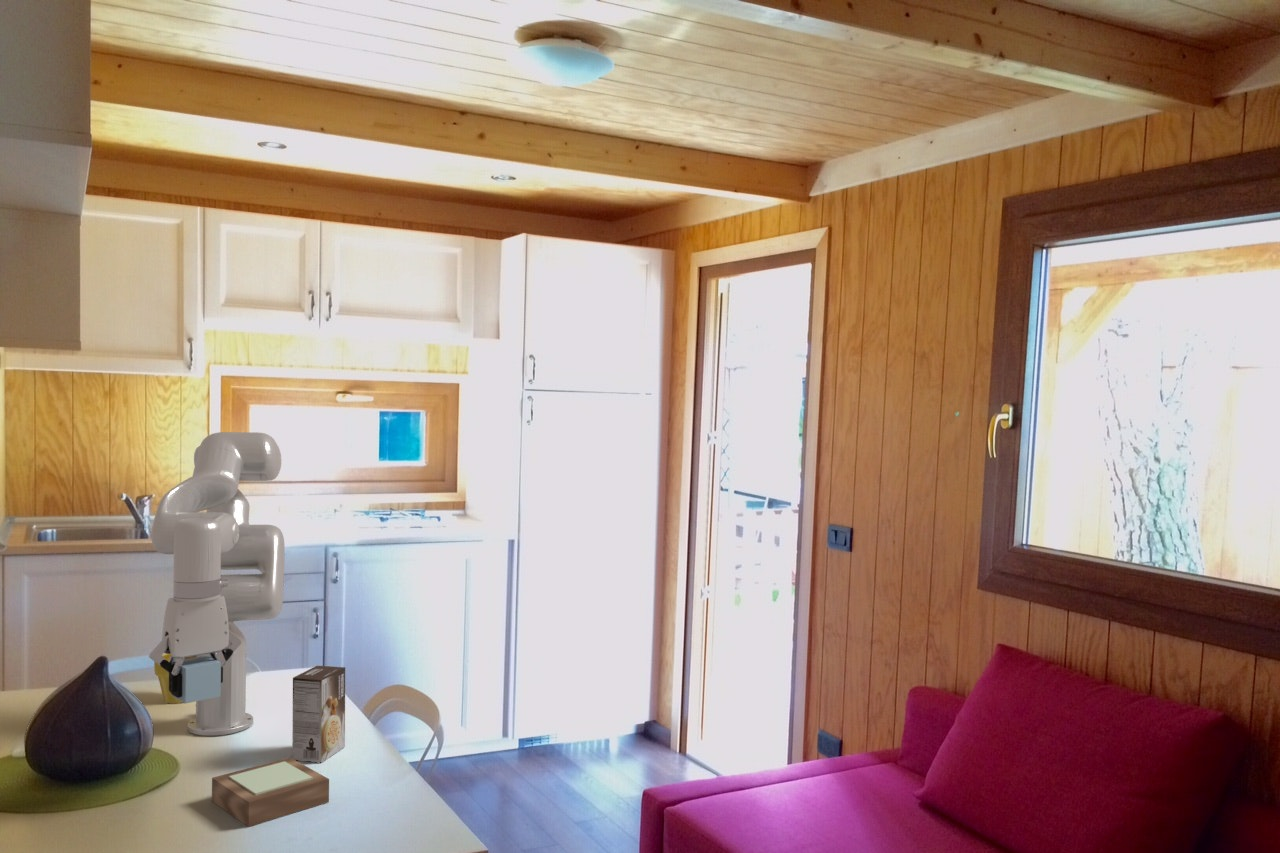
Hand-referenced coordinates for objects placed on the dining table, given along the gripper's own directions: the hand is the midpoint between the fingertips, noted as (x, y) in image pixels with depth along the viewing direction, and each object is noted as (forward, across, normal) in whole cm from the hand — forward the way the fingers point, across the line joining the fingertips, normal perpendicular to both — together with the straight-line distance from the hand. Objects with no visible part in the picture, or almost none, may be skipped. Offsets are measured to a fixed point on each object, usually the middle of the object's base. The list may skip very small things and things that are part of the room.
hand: (196, 690), depth 171 cm
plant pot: (+18, -18, -53) cm, 59 cm away
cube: (+1, 0, 0) cm, 1 cm away
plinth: (+17, -7, +14) cm, 23 cm away
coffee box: (+18, -24, -1) cm, 30 cm away
